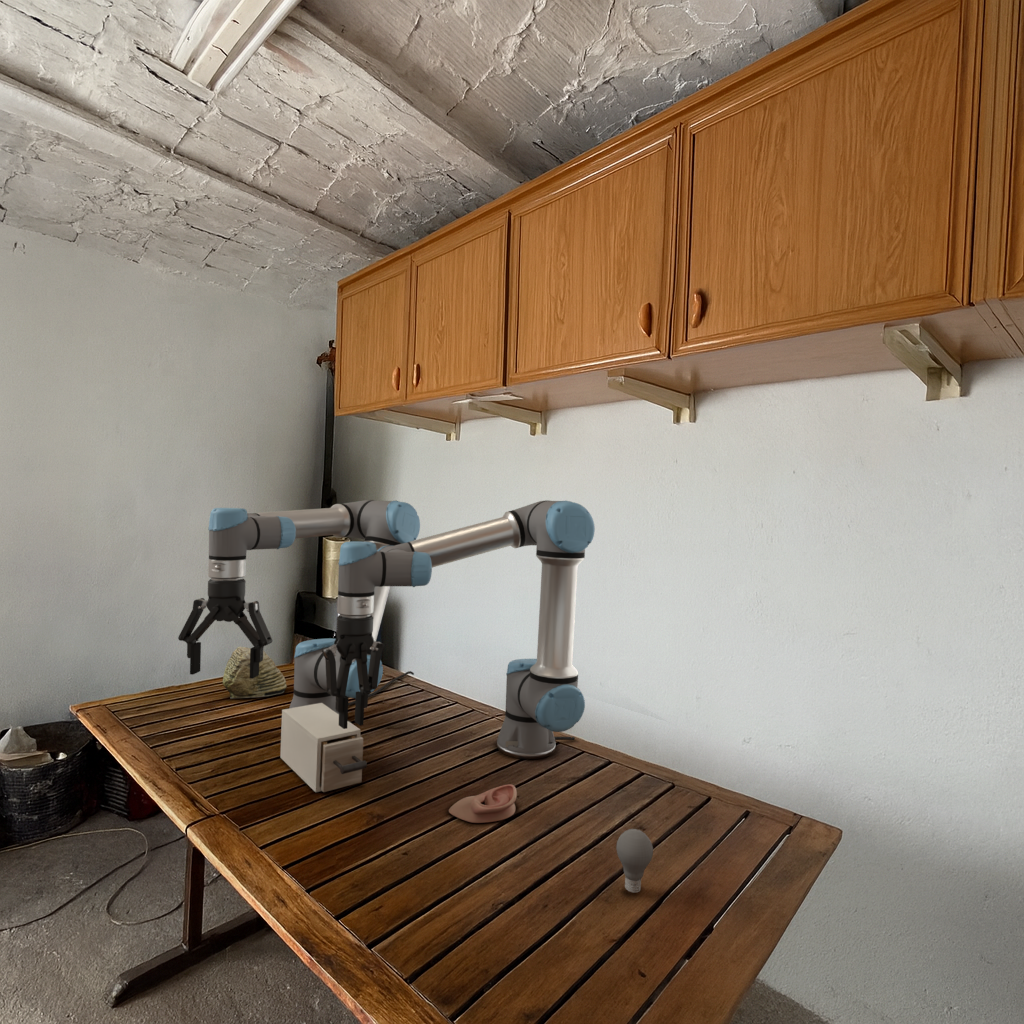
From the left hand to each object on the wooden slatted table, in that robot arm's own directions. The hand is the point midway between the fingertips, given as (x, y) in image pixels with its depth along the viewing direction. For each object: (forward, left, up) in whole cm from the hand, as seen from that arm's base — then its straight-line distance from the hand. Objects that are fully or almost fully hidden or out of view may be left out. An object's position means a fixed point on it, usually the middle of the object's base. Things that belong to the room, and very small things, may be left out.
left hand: (224, 674), depth 139 cm
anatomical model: (-30, +51, -23) cm, 63 cm away
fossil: (-35, -50, -23) cm, 65 cm away
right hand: (-15, +26, -8) cm, 31 cm away
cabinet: (-18, +10, -23) cm, 31 cm away
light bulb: (-26, +87, -23) cm, 94 cm away
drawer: (-17, +16, -22) cm, 32 cm away
